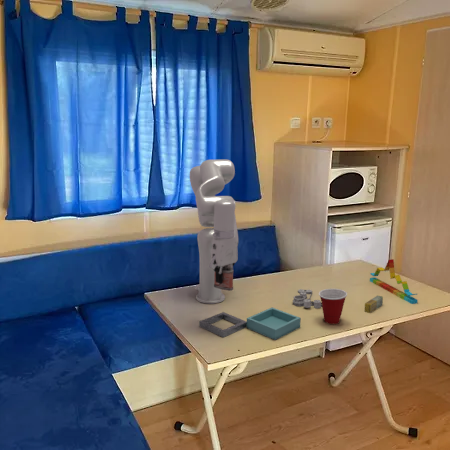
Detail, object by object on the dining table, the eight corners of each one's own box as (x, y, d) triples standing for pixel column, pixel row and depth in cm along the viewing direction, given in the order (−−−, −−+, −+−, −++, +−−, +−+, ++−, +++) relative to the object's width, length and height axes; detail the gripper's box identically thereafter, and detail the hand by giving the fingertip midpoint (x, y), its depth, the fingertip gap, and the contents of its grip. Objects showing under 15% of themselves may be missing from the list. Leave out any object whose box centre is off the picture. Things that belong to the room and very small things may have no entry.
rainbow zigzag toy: (417, 303, 207) (421, 270, 204) (411, 304, 206) (415, 271, 203) (375, 281, 235) (377, 251, 232) (369, 281, 234) (372, 252, 231)
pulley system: (310, 319, 192) (342, 312, 197) (310, 308, 191) (342, 301, 196) (278, 298, 217) (307, 292, 222) (278, 288, 216) (307, 282, 221)
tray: (246, 327, 182) (246, 318, 181) (271, 316, 192) (272, 307, 191) (275, 340, 172) (275, 329, 171) (300, 327, 182) (300, 317, 181)
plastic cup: (315, 315, 194) (316, 287, 191) (342, 315, 193) (343, 287, 191) (319, 326, 183) (321, 297, 180) (347, 327, 183) (350, 298, 180)
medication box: (376, 303, 207) (377, 295, 206) (382, 305, 205) (383, 296, 204) (364, 312, 198) (364, 303, 197) (370, 313, 196) (370, 304, 195)
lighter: (235, 288, 179) (235, 263, 176) (230, 291, 176) (230, 265, 174) (217, 284, 183) (217, 259, 180) (212, 287, 180) (212, 261, 178)
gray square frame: (199, 326, 183) (199, 321, 182) (223, 316, 192) (223, 311, 191) (223, 337, 174) (223, 332, 173) (247, 326, 183) (247, 321, 182)
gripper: (214, 240, 166) (214, 289, 170) (247, 231, 178) (246, 278, 182) (200, 235, 171) (200, 284, 176) (232, 228, 183) (231, 273, 187)
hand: (223, 280), depth 179 cm, fingers closed on lighter, 3 cm apart
